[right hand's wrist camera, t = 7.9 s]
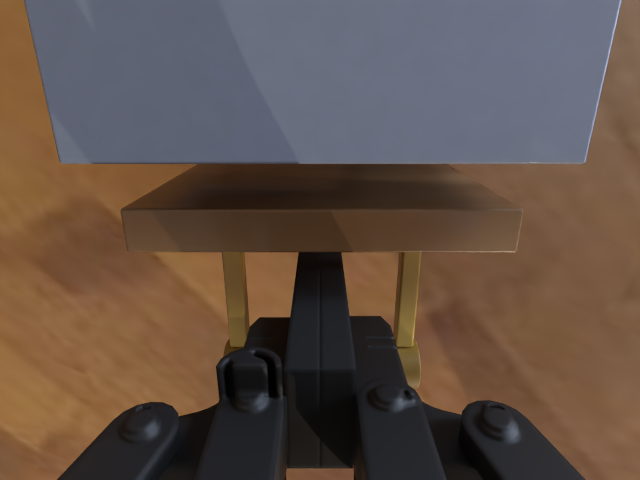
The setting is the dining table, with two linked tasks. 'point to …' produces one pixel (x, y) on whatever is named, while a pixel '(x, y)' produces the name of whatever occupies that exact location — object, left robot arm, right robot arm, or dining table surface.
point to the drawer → (323, 223)
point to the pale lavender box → (322, 80)
